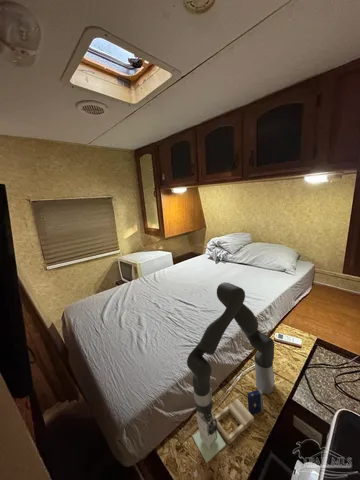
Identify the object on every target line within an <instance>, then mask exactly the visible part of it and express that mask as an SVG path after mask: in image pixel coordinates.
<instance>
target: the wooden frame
mask: <svg viewBox="0 0 360 480" xmlns="http://www.w3.org/2000/svg"><path fill="white" fill-rule="evenodd" d="M229 413H230V414H231V415H232V417H233V418H234V419H235V421H236V422H237V424H239V426H237V427H236V428H235V429H234V430H233V431H232V432H231V433H229V434H228V433H227V432H226V430H225V429H224V428H223V426H222V424H221V423H220V421H221V420H222V419H223V418H224V417H225V416H227V415H228V414H229ZM214 416H215V419H216V420H217V430H218V432H220V435H222V437H223V438H224V441H225V442H226V443H227V444H228V445H230V444H231V443H232V442H233V441H234V440H235V439H236V438H237V437H239V435H241V434H242V432H244V431H245V430H246V429H247V428H248V427H249V426H250V425H252V423H253V422H255V418H254V415H251V413H250V412H249V411H248V409H247V408H246V406H245V405H243V403H242V402H241V401H240V400H239V398H236V399H234V400H233V401H232V402H231V403H230V404H228V405H227V406H225V407H224V408H223V409H222V410H221V411H220V412H218V413H217V414H216V415H214Z"/></svg>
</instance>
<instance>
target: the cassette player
mask: <svg viewBox="0 0 360 480" xmlns="http://www.w3.org/2000/svg"><path fill="white" fill-rule="evenodd" d="M247 408H248V409H247V410H248V411H249V412H250V413H251V415H252V416H254V415H257V414H259V413H262V412H264V410H265V409H264V393H263V392H262V390H261V389H256V390H255V389H254V390H253V391H252V390H251V391H250V392H248V393H247Z"/></svg>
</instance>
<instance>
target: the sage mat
mask: <svg viewBox="0 0 360 480" xmlns="http://www.w3.org/2000/svg"><path fill="white" fill-rule="evenodd" d="M216 431H217V439H216V441H215V442H214V444H213V445H212V446H211V448H210V449H209V448H208V447H207V446H206V444H205V443H204V442H203V441H202V440H201V438H200V433H199V430H198V431H197V432H195V433H194V434H193V435H192V439H193V441H194V442H195V444H196V446H197V448H198V451H199V452H200V453H201V455H202V458H203V460H204V462H205V463H206V464H207V463H209V462H210V461H211V459H213V458H214V457H215V456H216V455H217V454H218V453H219V452H220V451H221V450H222V449H224V448H225V447H226V446H227V444H226V441H225V439H223V438H222V437H223V436H221V433H219V430H218V429H217V430H216Z"/></svg>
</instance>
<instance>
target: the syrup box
mask: <svg viewBox="0 0 360 480" xmlns="http://www.w3.org/2000/svg"><path fill="white" fill-rule="evenodd" d="M211 413H212V416H213V419H215V416H216V415H215V414H214V413H213V412H212V411H211ZM196 420H197V425H198V431H199V433H200V438H201V440H202V441H203V442H204V443H205V444H206V446H207V447H208V448H209V449H210V448H211V446H212V445H213V444H214V442H215V441H216V439H217V431H218V430H217V431H215V432H214V433H213V434H212V435H210V434H209V427H208V425H207V424H206V422H205V419H204V417H203V415H202V413H200V412H198V413H197V415H196ZM207 420H208V419H207ZM209 425H211V424H209Z"/></svg>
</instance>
